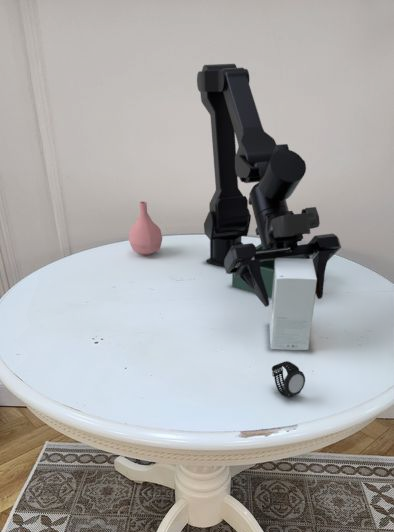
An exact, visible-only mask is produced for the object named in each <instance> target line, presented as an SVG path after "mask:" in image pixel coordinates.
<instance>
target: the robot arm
mask: <svg viewBox="0 0 394 532" xmlns="http://www.w3.org/2000/svg"><path fill="white" fill-rule="evenodd" d="M196 87H197V90H198V92H199V93H200V101H201V103H202V105H203V107H204V108H205V110H206V111H207V113H208V114H209V116H210V128H211V141H212V154H213V155H212V156H213V169H214V183H215V191H214V193H213V195H212V197H211V199H210V201H209V207H208V208H209V211H208V212H207V216H206V218H205V220H204V223H203V229H204V230H203V231H204V235H205V236H206V237H207V238H208V239H209V258H207V259H206V260H205V262H206V264H211V265H215V266H218V267H222V268H224V269H225V273H226V274H228V275H232V274H234V273H235V274H234V276H235V277H236V278H238V277H239V278H241V279H242V280H243V281H244V282H245V283H246V284H247V285H248V286H249V287H250V288H251V289H252V291H253V292H254V293H253V294H254V295H255V296H256V297H257V299H258V300H259V301H260V302H261V303H262V304H263V306H264V307H265V308H267V307H270V300H269V297H268V294H267V291H266V288H265V285H264V281H263V278H262V275H261V270H260V262H262V261H270V260H275V258H293V257H301V256H305V258H306V259H313V263H314V268H315V272H316V277H317V284H316V292H315V297H316V298H317V299H318V300H321V299H322V298H323V297H324V285H325V274H326V268H327V265H328V262H329V260H330V259H331V258H333V257H334V256H335V255H336V253H338V252H339V250H340V249H342V244H341V241H340V238H339V237H338V236H337V234H335V233H326V234H318V235H314V236H313V237H312V238H311V240H310V241H309V242H308V243H303V244H298V242H302V240H303V239H304V235H310V234H311V230H312V229H316V228H319V227H320V224H321V223H320V215H319V212H318V209H317V207H316V206H313V207H305V208H303V209H302V210H301V212H300V213H294V211H293V210H289V206H288V202H287V200H288V199H289V198H290V197H291V196H292V195H293V193H294V191H296V189H297V187H298V185H299V184H300V183H301V181H302V179H303V178H304V177H305V174H306V171H307V165H306V161H305V160H304V159H303V158H302V156H300V154H298V153H297V152H296V151H293V150H291V149H290V148H289V144H287V143H281V144H277V142H276V140H275V138H274V137H272V136H271V135H270V134H269V133H267V132H266V131H265V129H264V128H263V125H262V124H263V123H262V121H261V118H260V115H259V112H258V108H257V105H256V101H255V98H254V96H253V92H252V89H251V86H250V74H249V70H248V69H247V68H244V67H237V65H236V63H221V64H220V63H217V64H204V65H203V66H202V69H201V70H200V71H198V72H197V74H196ZM236 141H237V142H236ZM236 143H237V145H236ZM236 146H237V147H236ZM238 178H239V180H240V182H241V183H245V184H252V183H253V184H254V183H255V184H254V185H253V187H252V188H251V190H250V192H249V196H248V198H247V196H246V195H244V194H243V193H242V192H241V190H240V188H239V180H238ZM249 206H251V207H252V211H253V216H254V219H255V224H256V228H255V235H256V236H259V240H260V244H262V248H263V249H262V250H256V245H255V244H254V243H252V242H250V243H244V242H242V237H248V235H249V231H250V225H251V220H252V219H251V218H252V215H251V212H250V210H249Z"/></svg>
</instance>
